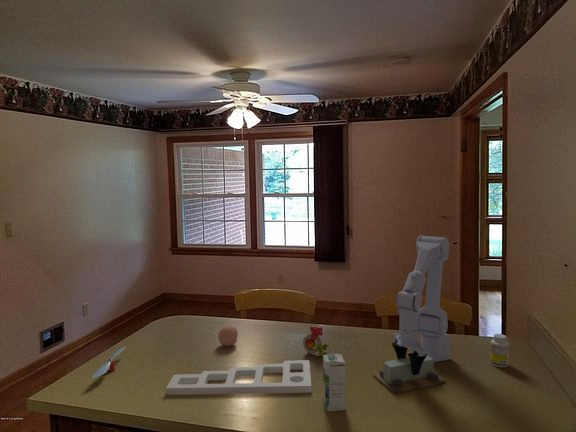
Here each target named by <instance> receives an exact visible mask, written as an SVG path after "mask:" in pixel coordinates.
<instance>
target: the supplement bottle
mask: <svg viewBox="0 0 576 432" xmlns="http://www.w3.org/2000/svg"><path fill="white" fill-rule="evenodd" d="M507 340H508V339H507V336H506V334H505V335H504V334H502V333H495V334H493V337H492V339H491V340H490V363H491V364H492V365H493V366H495V367H498V368H507V367H508V366H509V361H510V360H509V359H510V342H508V341H507Z"/></svg>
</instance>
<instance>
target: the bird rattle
mask: <svg viewBox="0 0 576 432" xmlns="http://www.w3.org/2000/svg"><path fill="white" fill-rule="evenodd" d="M309 330H310V333H308V334H306V335H305V336H304V337H303V339H302V346H303V348H304V350H305V351H306V352H307V355H309V354H316V353H319V357H323V355H324V351H327V348H328V347H329V344H327V343H324V344H322V339H321V338H320V337H321V336H323V335H324V334H323V330H324V329H323V327H316V326H309Z"/></svg>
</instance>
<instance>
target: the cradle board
mask: <svg viewBox="0 0 576 432" xmlns="http://www.w3.org/2000/svg"><path fill="white" fill-rule="evenodd" d="M372 376H373V377H374V378H375V379H376V380H377V381H378V382H379V383H380V384H381V385H383V386H384V387H385V388H386V389H387V390H388V391H390V392H391V393H392V395H393V394H398V393H403V392H407V391H413V390H417V389H422V388H427V387H431V386H436V385H440V384H445V383H446V379H444V378H443V377H441V376H440V375H439V374H438V373H437V372H435V371H433V373H430V374H428V377H424V378H419V379H414V380H409V381H404V382H403V381H402V380H401V379H400V380H395V381H392V384H389V383H388V382H387V381H386V380H385V379H383V369H381V370H379V372H376V373H373V374H372Z"/></svg>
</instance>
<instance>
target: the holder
mask: <svg viewBox="0 0 576 432" xmlns="http://www.w3.org/2000/svg"><path fill="white" fill-rule="evenodd" d="M291 370H302V372H291ZM273 372H274V373H273ZM279 373H280V374H281V373H282V381H281V382H263V381H264V379H263V378H264V374H279ZM239 377H254V379H253V382H251V383H250V382H248V383H245V382H244V383H243V382H241V383H239V382H238V383H236V380H237V378H239ZM209 381H225V382H224V383H209ZM165 389H166V390H165V391H166V395H167V396H177V395H178V396H181V395H182V396H185V395H187V396H189V395H191V396H192V395H238V394H239V395H244V394H245V395H246V394H249V395H250V394H251V395H252V394H253V395H254V394H301V393H302V394H303V393H305V394H306V393H312V378H311V365H310V360H309V359H307V360H306V359H305V360H304V359H303V360H298V359H297V360H283V363H257V365H256V366H250V367H249V366H244V367H243V366H239V367H237V366H235V367H234V366H233V367H230V368H229V370H203V371H202V372H201V373H196V374H195V373H194V374H193V373H191V374H189V373H188V374H187V373H185V374H183V373H182V374H174V375H173V376H172V378H171V379H170V381H169V383H167V386H166V388H165Z"/></svg>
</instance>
